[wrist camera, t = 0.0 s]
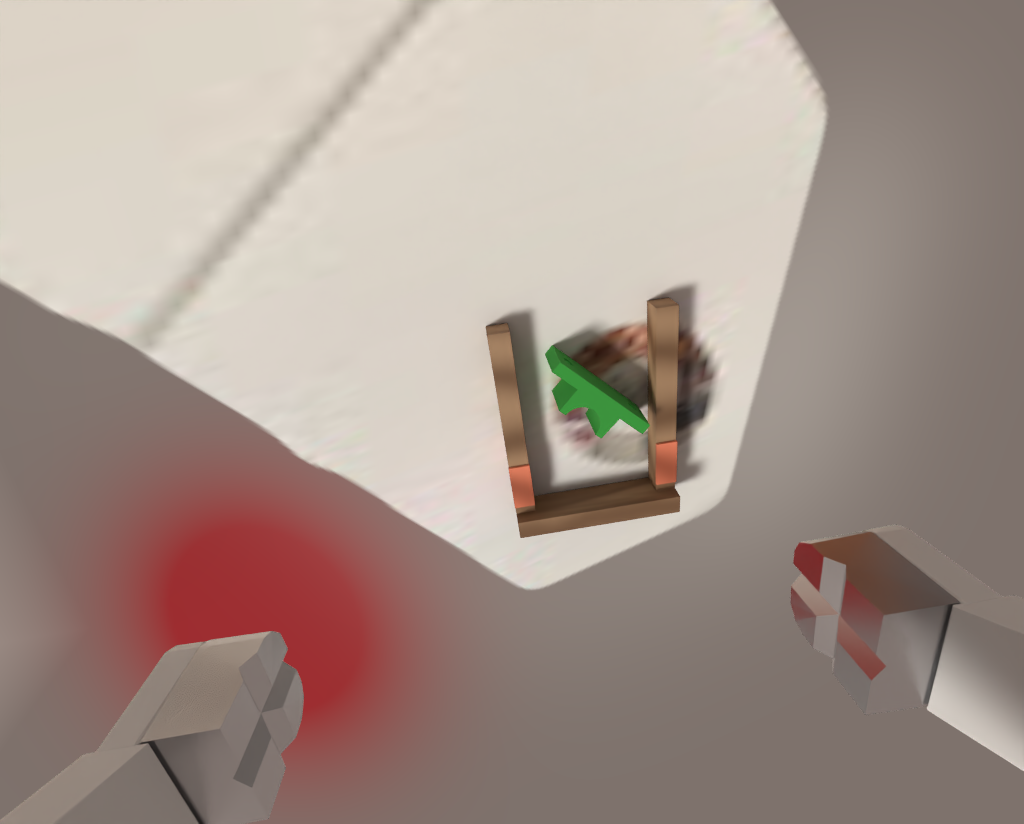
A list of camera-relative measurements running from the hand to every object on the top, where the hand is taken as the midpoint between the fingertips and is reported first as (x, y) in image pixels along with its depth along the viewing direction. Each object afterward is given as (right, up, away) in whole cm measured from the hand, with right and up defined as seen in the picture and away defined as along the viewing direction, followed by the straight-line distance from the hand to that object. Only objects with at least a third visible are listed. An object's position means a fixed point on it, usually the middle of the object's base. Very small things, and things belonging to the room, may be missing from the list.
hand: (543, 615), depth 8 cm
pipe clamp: (+7, +6, +42) cm, 43 cm away
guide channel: (+7, +3, +43) cm, 44 cm away
